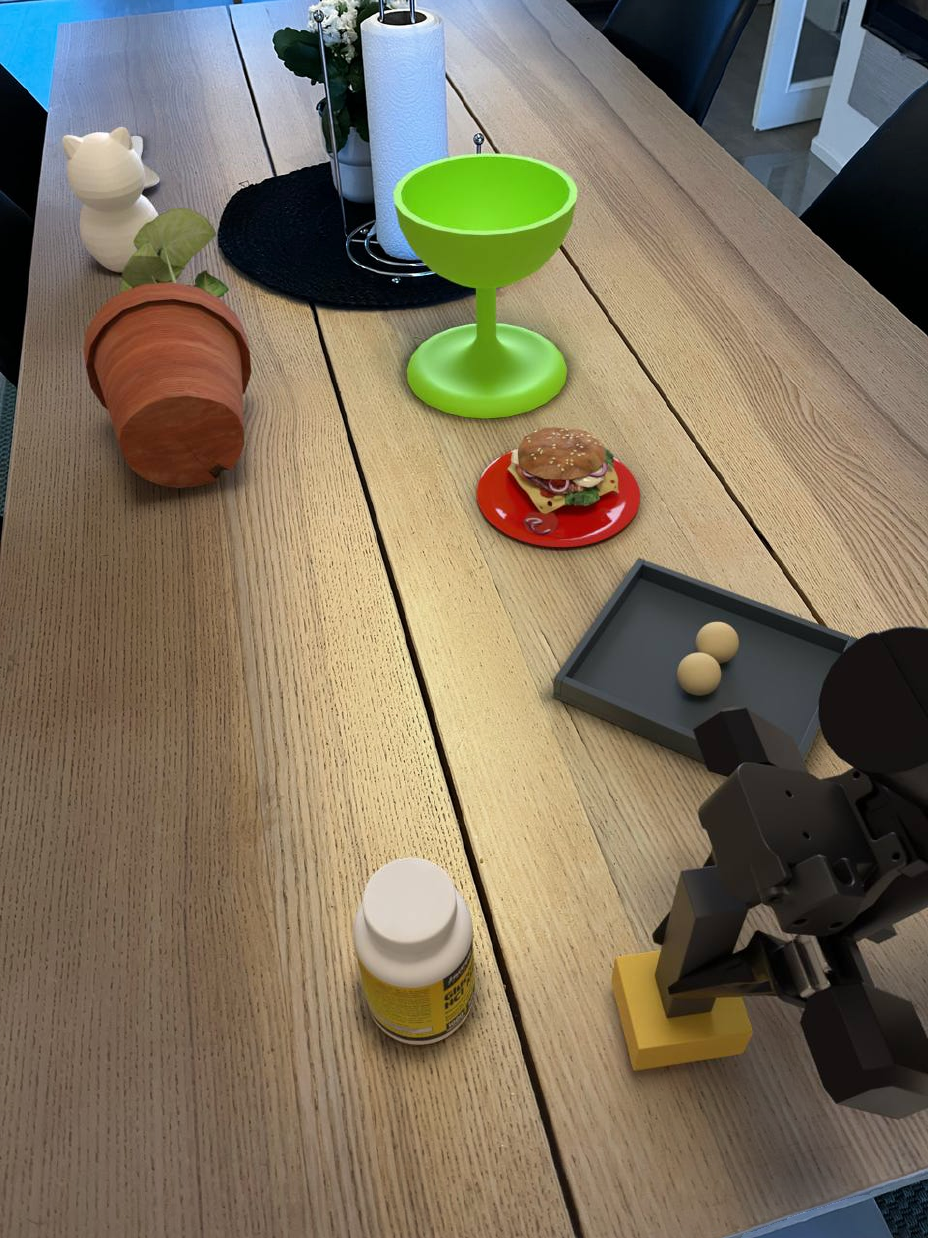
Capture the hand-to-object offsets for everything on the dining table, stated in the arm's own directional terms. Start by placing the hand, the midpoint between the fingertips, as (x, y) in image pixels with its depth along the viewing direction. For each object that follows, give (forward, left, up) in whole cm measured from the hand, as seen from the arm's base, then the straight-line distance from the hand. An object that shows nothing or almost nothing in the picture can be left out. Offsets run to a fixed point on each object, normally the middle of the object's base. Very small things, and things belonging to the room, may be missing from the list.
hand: (664, 966), depth 51 cm
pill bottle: (+13, +1, -8) cm, 15 cm away
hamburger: (+15, -44, -8) cm, 47 cm away
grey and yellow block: (-1, -1, -7) cm, 7 cm away
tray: (0, -26, -8) cm, 27 cm away
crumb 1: (0, -28, -6) cm, 29 cm away
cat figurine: (+73, -74, -8) cm, 104 cm away
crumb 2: (+1, -25, -6) cm, 25 cm away
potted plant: (+54, -49, -8) cm, 73 cm away
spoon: (+84, -97, -8) cm, 128 cm away
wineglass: (+26, -61, -8) cm, 66 cm away
